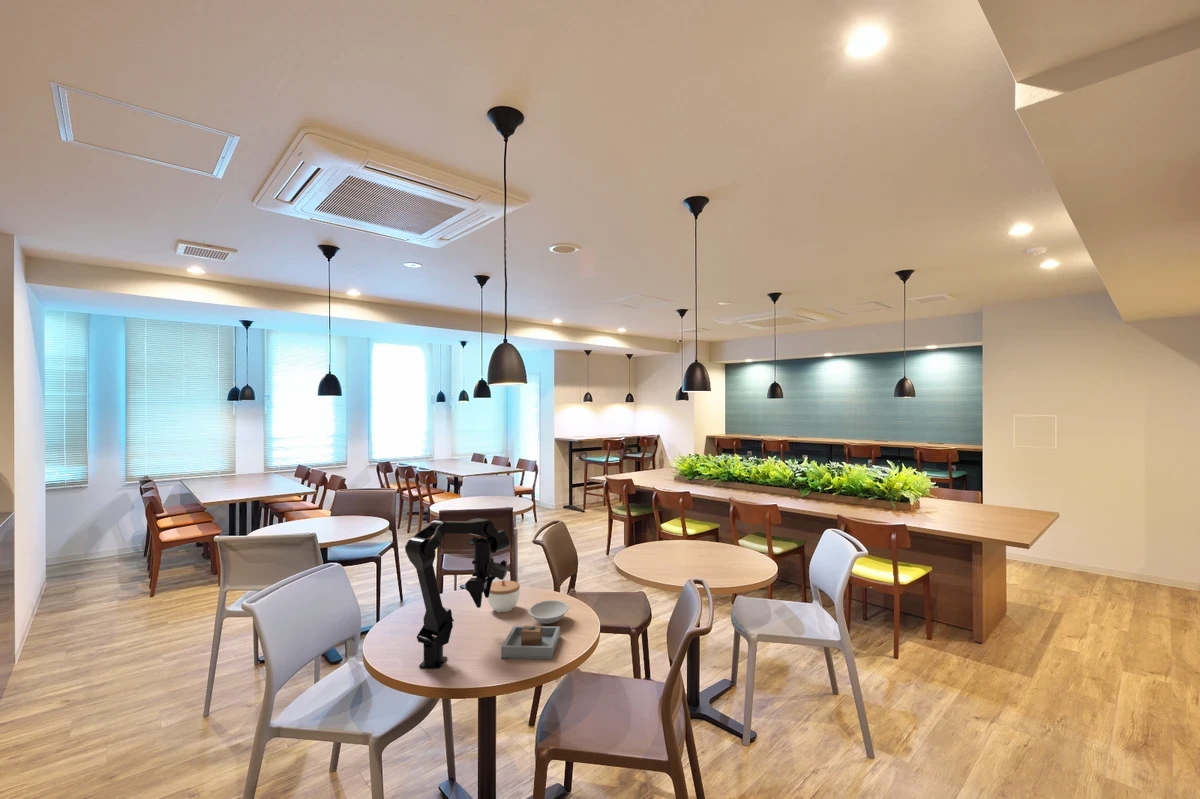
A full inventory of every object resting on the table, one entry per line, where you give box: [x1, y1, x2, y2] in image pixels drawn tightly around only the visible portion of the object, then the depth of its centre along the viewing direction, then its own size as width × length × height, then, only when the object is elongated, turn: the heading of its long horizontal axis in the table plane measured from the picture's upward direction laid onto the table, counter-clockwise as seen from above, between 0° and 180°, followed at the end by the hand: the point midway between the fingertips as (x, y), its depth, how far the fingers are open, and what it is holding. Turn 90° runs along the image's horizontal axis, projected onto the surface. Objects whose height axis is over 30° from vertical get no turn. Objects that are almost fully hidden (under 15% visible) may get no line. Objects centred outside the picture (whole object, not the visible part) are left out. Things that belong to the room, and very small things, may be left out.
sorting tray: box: [500, 625, 561, 660], centre depth 168 cm, size 16×16×4 cm
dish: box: [528, 599, 570, 625], centre depth 187 cm, size 18×14×5 cm
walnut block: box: [521, 625, 543, 646], centre depth 168 cm, size 4×6×5 cm
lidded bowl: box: [487, 579, 521, 613], centre depth 201 cm, size 13×13×11 cm
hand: (483, 602), depth 175 cm, fingers open, 9 cm apart
